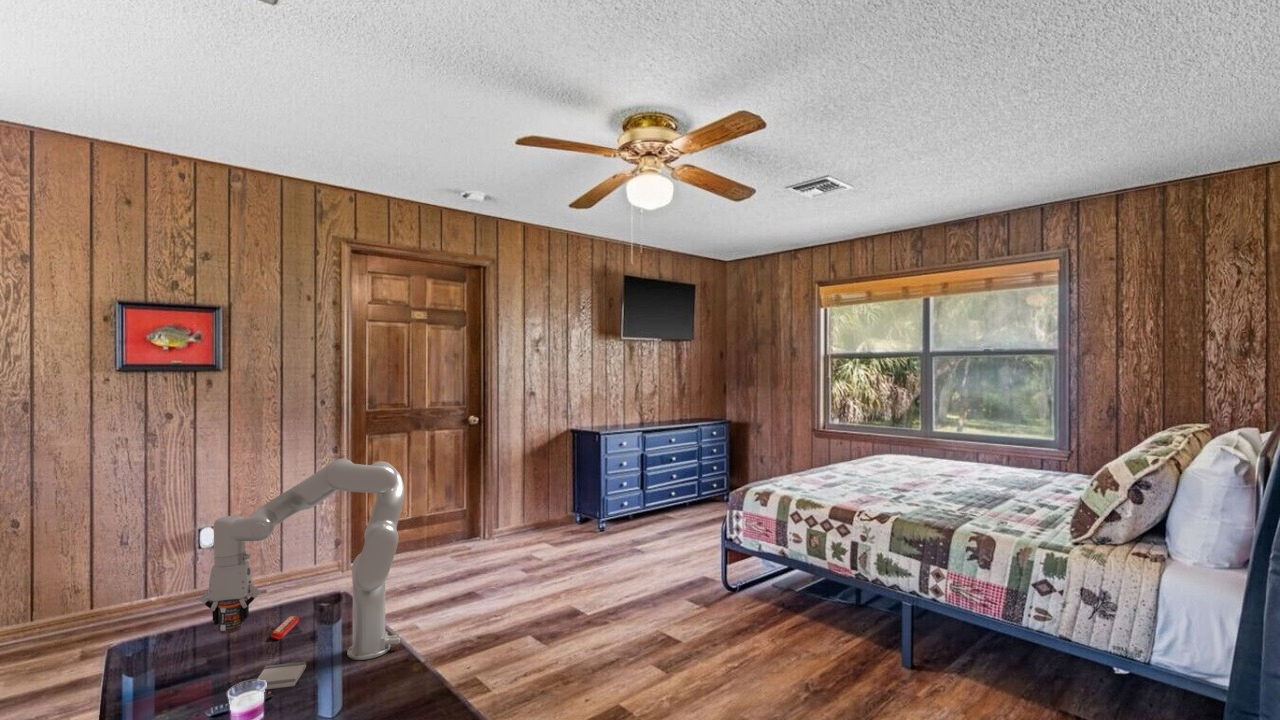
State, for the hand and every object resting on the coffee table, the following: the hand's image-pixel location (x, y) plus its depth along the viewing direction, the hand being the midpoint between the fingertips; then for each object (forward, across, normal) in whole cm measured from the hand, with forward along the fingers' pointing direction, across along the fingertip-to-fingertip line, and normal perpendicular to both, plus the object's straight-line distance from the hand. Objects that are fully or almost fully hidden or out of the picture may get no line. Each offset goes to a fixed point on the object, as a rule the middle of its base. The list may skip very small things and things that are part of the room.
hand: (230, 620), depth 176 cm
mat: (+17, -14, +3) cm, 22 cm away
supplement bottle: (+3, 0, 0) cm, 3 cm away
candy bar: (+18, -4, -32) cm, 37 cm away
